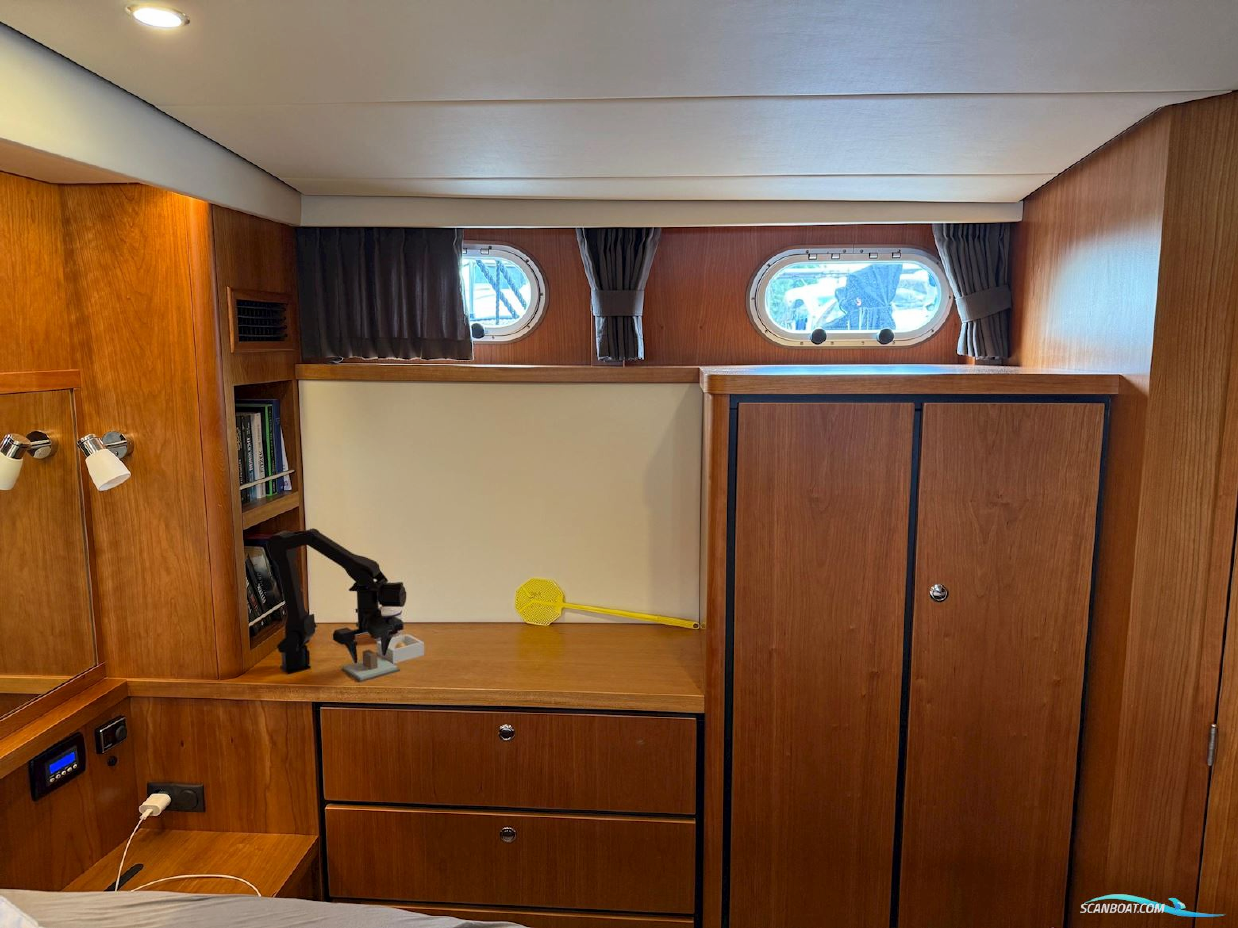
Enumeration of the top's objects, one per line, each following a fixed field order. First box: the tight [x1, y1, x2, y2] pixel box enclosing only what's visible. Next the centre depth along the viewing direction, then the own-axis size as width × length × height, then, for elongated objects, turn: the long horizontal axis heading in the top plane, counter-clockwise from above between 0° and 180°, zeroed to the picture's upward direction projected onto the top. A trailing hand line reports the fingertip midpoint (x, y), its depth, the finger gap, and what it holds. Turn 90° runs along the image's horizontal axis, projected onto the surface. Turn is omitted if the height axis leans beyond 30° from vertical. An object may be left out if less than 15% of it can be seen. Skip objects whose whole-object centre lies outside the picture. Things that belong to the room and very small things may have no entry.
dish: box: [376, 633, 425, 665], centre depth 234 cm, size 10×10×4 cm
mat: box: [340, 667, 401, 683], centre depth 222 cm, size 12×12×1 cm
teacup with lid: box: [373, 605, 403, 643], centre depth 249 cm, size 12×9×12 cm
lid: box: [342, 649, 398, 680], centre depth 222 cm, size 11×11×5 cm
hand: (370, 659), depth 222 cm, fingers open, 8 cm apart
